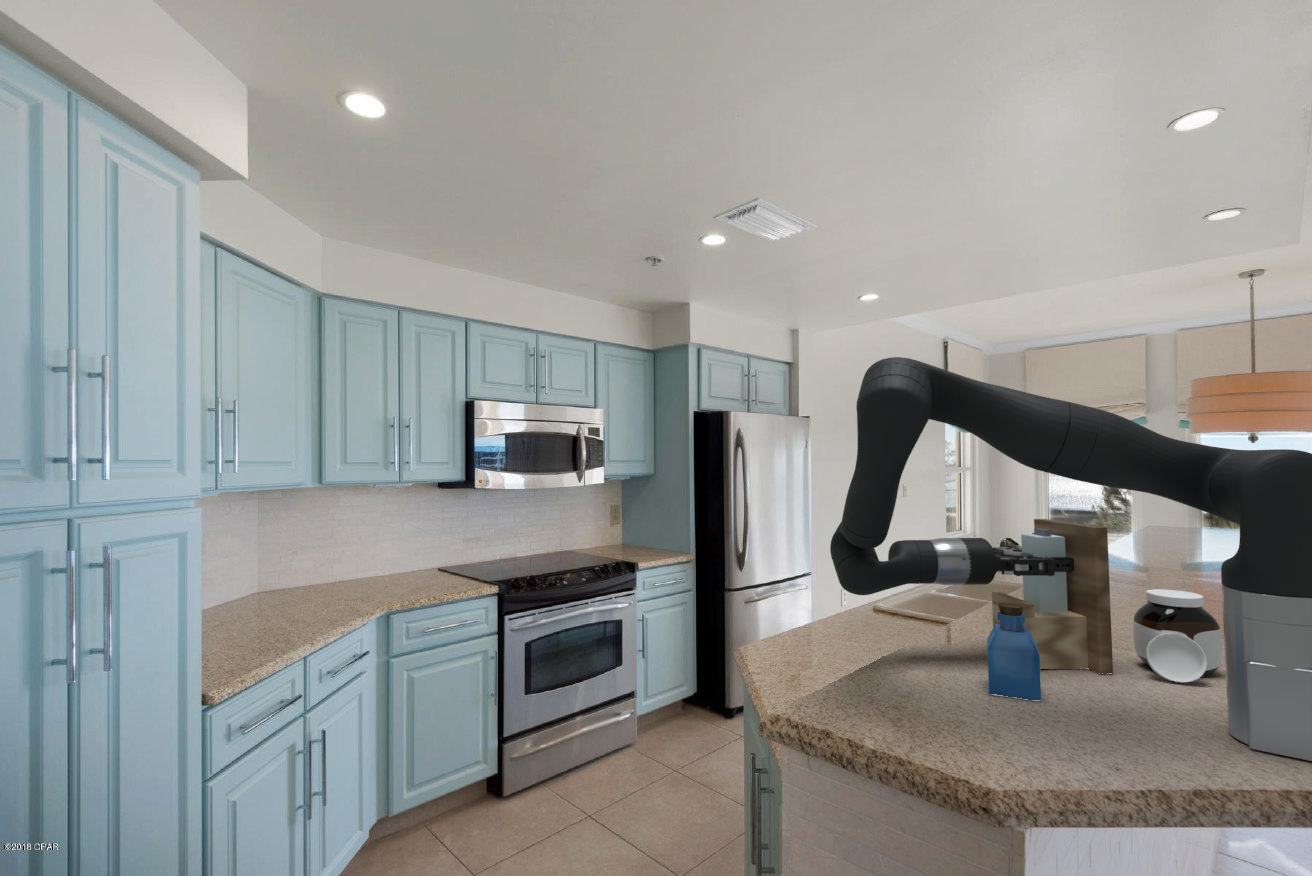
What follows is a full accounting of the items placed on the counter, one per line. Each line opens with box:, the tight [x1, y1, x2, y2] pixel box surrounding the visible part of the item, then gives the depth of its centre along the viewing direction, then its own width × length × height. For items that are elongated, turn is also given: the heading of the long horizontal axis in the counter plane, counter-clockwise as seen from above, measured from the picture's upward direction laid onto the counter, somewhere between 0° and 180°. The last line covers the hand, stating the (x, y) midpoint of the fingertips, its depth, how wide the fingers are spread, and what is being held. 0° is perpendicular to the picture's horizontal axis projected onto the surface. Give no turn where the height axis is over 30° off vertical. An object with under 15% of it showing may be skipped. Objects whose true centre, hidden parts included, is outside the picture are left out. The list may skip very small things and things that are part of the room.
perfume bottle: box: [986, 603, 1042, 701], centre depth 89 cm, size 6×6×12 cm
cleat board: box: [991, 518, 1114, 675], centre depth 103 cm, size 11×15×22 cm
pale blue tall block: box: [1020, 529, 1068, 613], centre depth 103 cm, size 4×4×13 cm
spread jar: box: [1132, 588, 1223, 684], centre depth 95 cm, size 12×11×12 cm
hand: (1055, 560), depth 103 cm, fingers open, 8 cm apart
